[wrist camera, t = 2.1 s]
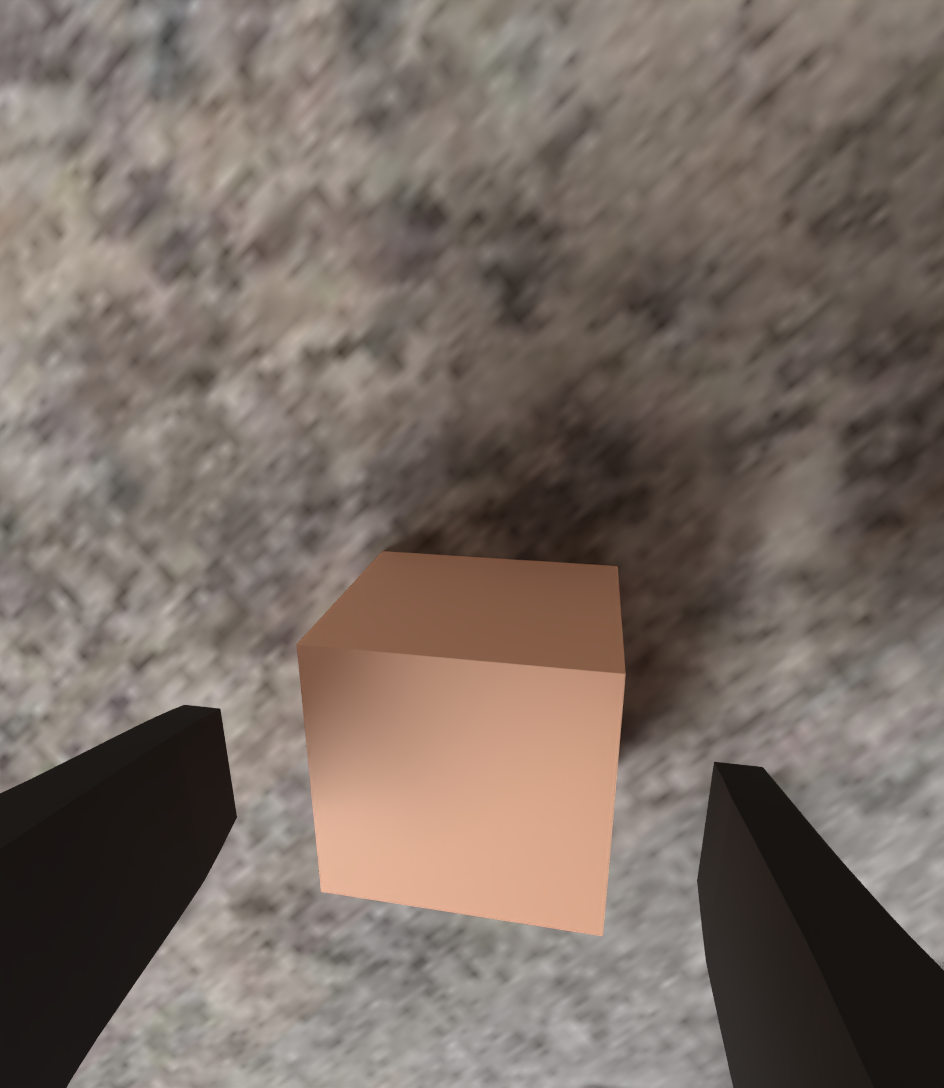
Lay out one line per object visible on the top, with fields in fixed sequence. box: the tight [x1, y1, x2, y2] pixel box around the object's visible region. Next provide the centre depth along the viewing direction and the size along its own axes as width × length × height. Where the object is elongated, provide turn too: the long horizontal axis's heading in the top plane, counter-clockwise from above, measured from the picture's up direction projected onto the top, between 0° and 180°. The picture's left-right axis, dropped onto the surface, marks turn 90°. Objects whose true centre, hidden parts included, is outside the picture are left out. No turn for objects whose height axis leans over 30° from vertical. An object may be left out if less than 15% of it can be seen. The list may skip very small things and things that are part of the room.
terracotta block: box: [297, 551, 626, 936], centre depth 11 cm, size 4×4×4 cm
